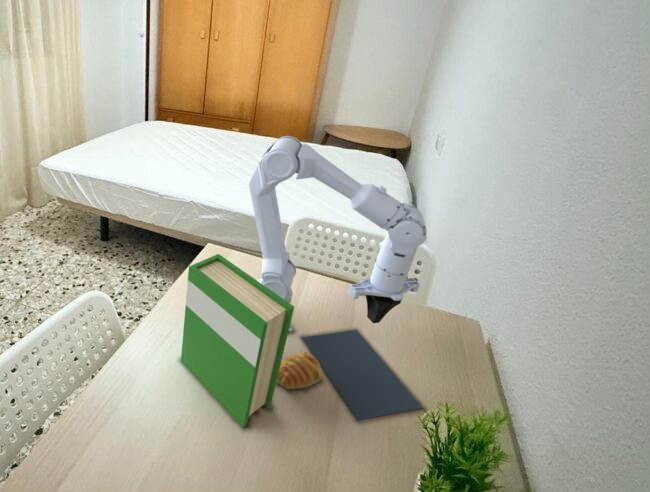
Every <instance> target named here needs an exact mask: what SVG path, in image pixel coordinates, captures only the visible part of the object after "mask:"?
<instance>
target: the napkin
mask: <svg viewBox="0 0 650 492" xmlns="http://www.w3.org/2000/svg"><path fill="white" fill-rule="evenodd" d="M301 339H302V341H303V342H304V344H305V346H306V347H307V348H308V350H309V351H310V354H311V355H313V356H314V357H315V358H316V359H317V361H318V362H319V363H320V367H321V369H322V371H323V372H324V374H325V375H326V376H327V378H328V379H329V381H330V382H331V384H332V386H333V387H334V388H335V390H336V391H337V393H338V395H339V396H340V397H341V399H342V401H343V402H344V403H345V405H346V406H347V407H348V409H349V410H350V412H351V413H352V415H353V416H354V418H355V420H356V421H362V420H367V419H368V420H369V419H373V418H378V417H384V416H390V415H395V414H399V413H405V412H411V411H417V410H421V409H423V406H422V405H421V404H420V402H418V400H417V399H416V398H415V396H414V395H413V394H412V393H411V392H410V391H409V389H408V388H407V387H406V386H405V385H404V384H403V383H402V382H401V380H400V379H399V378H398V377H397V376H396V374H395V373H394V372H393V371H392V370H391V368H389V366H388V365H387V364H386V363H385V361H384V360H383V359H382V358H381V357H380V355H379V354H378V353H377V352H376V351H375V350H374V349H373V347H372V346H371V345H370V344H369V343H368V341H366V339H365V338H364V337H363V336H362V335H361V333H360V332H359V331H358V330H357V329H352V330H346V331H339V332H331V333H323V334H315V335H309V336H302V337H301Z"/></svg>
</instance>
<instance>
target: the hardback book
mask: <svg viewBox="0 0 650 492" xmlns="http://www.w3.org/2000/svg"><path fill="white" fill-rule="evenodd" d="M187 273H188V274H187V285H186V297H185V307H184V308H185V309H184V321H183V332H182V343H181V344H182V345H181V356H180V361H181V362H182V363H183V365H185V367H186V368H187V369H188V370H189V371H190V372H191V373H192V374H193V375H194V376H195V377H196V379H197V380H198V381H199V382H200V383H201V384H202V385H203V386H204V387H205V388H206V390H208V391H209V392H210V394H211V395H212V396H213V397H214V398H215V399H216V400H217V401H218V402H219V403H220V404H221V405H222V407H224V409H226V411H227V412H228V413H229V414H230V415H231V416H232V417H233V418H234V419H235V420H236V421H237V423H239V425H240V426H241V427H242V428H245V427H246V426H247V425H248V421H249V417H250V416H251V415H252V414H253V413H255V412H257V410H259V409H261V408H262V406H264V407H265V408H266V409H269V408H270V407H271V406H272V403H273V399H274V394H275V390H276V386H277V383H278V382H277V377H278V373H279V369H280V366H281V364H282V360H283V356H284V351H285V347H286V343H287V339H288V336H289V332H288V331H289V327H290V325H291V322H292V318H293V314H294V310H295V305H293V304H291V303H288V302H287V301H286V300H284V299H283V298H281V297H280V296H278V295H277V294H276V293H274V292H273V291H271V290H270V289H268V288H267V287H265V286H264V285H263V284H261V283H260V282H258V281H257V280H258V279H255V278H254V277H253V276H251V275H250V274H249V273H247V272H245V270H243V269H241V268H240V267H238V266H236V265H235V264H234V263H233V262H231V261H229V260H228V259H227V258H225V257H224V256H223V255H222V254H219V253H217V254H215V255H213V256H210V257H208V258H206V259H203V260H201V261H198V262H196V263H193V264H192V265H189V266H188V272H187Z"/></svg>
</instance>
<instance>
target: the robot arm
mask: <svg viewBox="0 0 650 492" xmlns="http://www.w3.org/2000/svg"><path fill="white" fill-rule="evenodd" d="M295 174H297V175H296V177H295V179H296V180H304V179H310V178H311V179H315V180H317V181H319V182H321V183H322V184H323V185H326V186H327V187H329V188H331V190H334V191H336V192H337V193H338V194H341V195H342V196H343V197H346V198H347V199H349V200H350V206H351V209H352V210H354V211H355V212H357V213H358V214H360V215H361V216H363V217H364V218H366V219H367V220H368V221H370V222H371V223H373V224H375V225H376V226H377V227H379V228H380V229H382V230H385V231H386V233H385V236H384V239H382V242H381V245H380V248H379V251H378V253H377V257H376V260H375V262H374V266H373V269H372V272H371V274H370V276H369V277H366V278H365V279H363V280H361V281H358V282H357V283H354V284H350V285H349V287H348V291H347V293H348V294H349V296H350V297H351V298H352V299H353V300H357V299H359V297H363V296H365V300H366V309H367V313H366V314H367V315H366V316H367V318H368V320H369V321H370V322H371V324H378V323H380V322H381V321H382V320H383V319H384V317H385V316H386V315H387V314H389V312H390V311H391V310H393V309H394V308H395V307H397V306H399V305H400V304H401V303H402V301H403V299H404V294H406V293H408V292H409V291H411V292H412V293H416V292H417V293H418V292H419V288H420V287H421V283H420V282H419V281H418V280H416V279H415V278H414V277H409V278H407V277H408V275H409V272H410V270H411V267H412V265H413V262H414V259H415V256H416V254H417V250H418V247H420V246H421V245H423V244H424V243H425V242H426V241H427V239H428V236H427V227H426V223H425V218H424V216H423V214H422V212H421V211H420V209H418V208H417V207H416V205H413V204H409V203H407V202H403V203H402V202H400V201H399V200H397V198H395V197H393V196H391V195H390V194H388V193H387V188H385V187H384V186H383V185H379V186H376V185H375V184H373V183H365V184H362V183H360V182H358V181H357V180H356V179H354V178H353V177H352V176H350V175H349V174H347V173H346V172H345V171H343V170H342V169H341V168H339V167H337V166H336V165H335V164H334V163H332V162H331V161H330V160H328V158H327V159H326V158H325V157H324V156H323V155H321V154H320V153H319V152H317V151H316V150H315V149H314V148H313V147H311V145H309V144H306V143H305V142H304V143H302V142H301V141H300V140H299V139H298V138H296V137H294V136H291V135H285V136H281V137H279V138H277V139H276V140H275V141H274V142H273V143H272V144H271V145H270V146H269V147H267V150H266V151H265V152H264V154H263V156H262V157H261V158H260V159H259V161H258V163H257V165H256V167H255V169H254V171H253V173H252V175H251V177H250V179H249V181H248V188H249V193H250V199H251V203H252V210H253V213H254V220H255V225H256V230H257V234H258V241H259V245H260V246H259V247H260V250H261V256H262V264H261V272H260V273H261V278H258V279H256V280H257V281H258V282H260V283H261V284H263V285H264V286H265V287H267V288H268V289H270V290H271V291H273V292H274V293H276V294H277V295H278V296H280V297H281V298H283V299H284V300H286V301H287V302H288V303H290V304H291V302H292V298H293V290H292V285H293V282H294V278H295V276H296V273H297V268H296V265H295V264H294V263H293V261H292V259H291V256H290V252H289V251H287V249H286V244H285V238H284V232H283V227H282V219H281V213H280V208H279V203H278V197H277V190H276V187H277V186H278V185H279V184H280V183H282V182H285V181H287V180H289V179H290V178H292V177H293V176H294V175H295ZM293 330H294V329H293V327H292V325H291V324H290V327H289V331H288V333H289V332H293Z"/></svg>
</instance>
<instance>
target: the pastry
mask: <svg viewBox="0 0 650 492" xmlns="http://www.w3.org/2000/svg"><path fill="white" fill-rule="evenodd" d="M322 379H324V373H323V369H322V367H321V366H320V363H319V362H318V361H317V359H316V358H315V357H314V356H313V354H312V353H309V352H306V351H301V352H300V353H295V354H293V355H290V356H289V357H288V358H286V359H285V360H283V362H281V365H280V369H279V373H278V377H277V382H276V383H277V384H279V385H280V386H281V387H283V388H284V389H286V390H296V389H301V390H302V389H306V388H308V387H311V386H313V385H315V384H317V383H318V382H320V381H321V380H322Z"/></svg>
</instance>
